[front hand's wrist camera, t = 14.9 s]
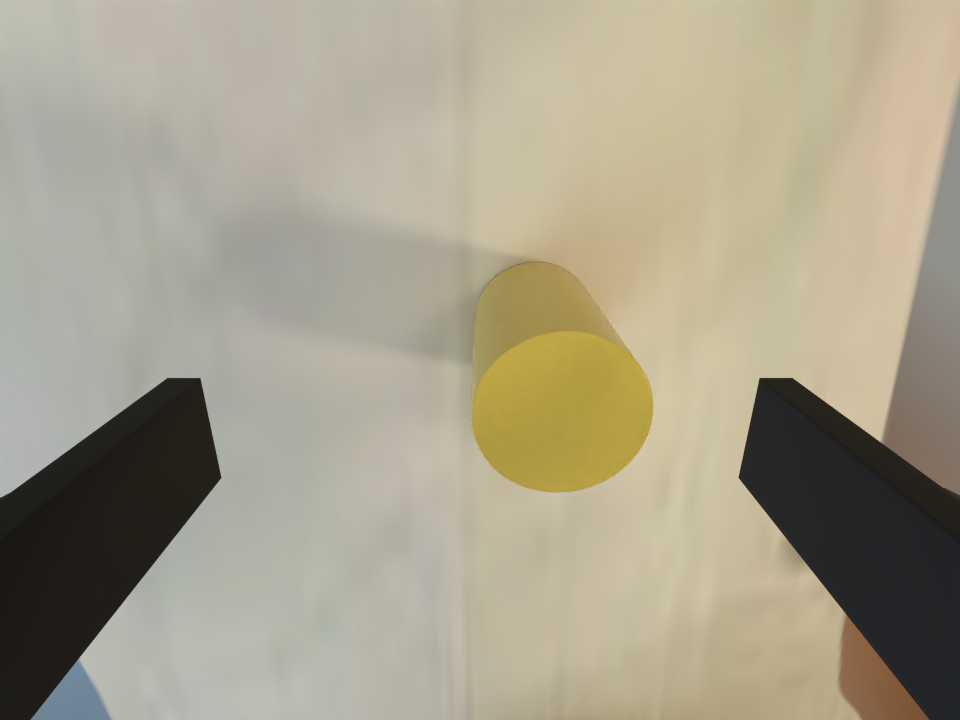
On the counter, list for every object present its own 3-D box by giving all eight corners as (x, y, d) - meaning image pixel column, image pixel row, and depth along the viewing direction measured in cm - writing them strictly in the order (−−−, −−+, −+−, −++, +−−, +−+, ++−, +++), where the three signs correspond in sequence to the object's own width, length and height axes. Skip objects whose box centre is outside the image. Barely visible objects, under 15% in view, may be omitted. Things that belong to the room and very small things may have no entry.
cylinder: (617, 317, 31) (691, 413, 20) (533, 395, 33) (559, 521, 22) (533, 235, 30) (564, 291, 19) (450, 323, 32) (433, 421, 20)
